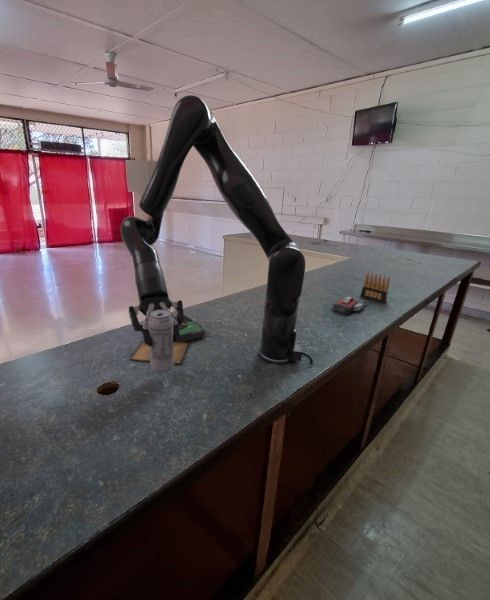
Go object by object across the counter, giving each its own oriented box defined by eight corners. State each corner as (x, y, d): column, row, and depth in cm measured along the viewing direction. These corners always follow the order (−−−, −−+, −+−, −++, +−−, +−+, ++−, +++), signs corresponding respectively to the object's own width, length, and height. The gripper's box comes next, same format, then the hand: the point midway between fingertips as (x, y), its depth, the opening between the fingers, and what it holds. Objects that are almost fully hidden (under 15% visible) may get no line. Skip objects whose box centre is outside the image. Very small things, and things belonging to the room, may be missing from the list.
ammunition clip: (386, 302, 140) (392, 276, 136) (384, 303, 139) (390, 277, 135) (361, 295, 147) (366, 271, 143) (360, 296, 146) (365, 271, 142)
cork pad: (188, 344, 99) (188, 343, 99) (179, 364, 88) (179, 363, 88) (145, 340, 101) (145, 339, 101) (131, 359, 90) (131, 358, 90)
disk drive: (158, 327, 110) (177, 343, 99) (157, 319, 109) (177, 335, 98) (184, 321, 116) (205, 336, 104) (184, 314, 115) (205, 328, 103)
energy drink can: (176, 361, 84) (175, 309, 78) (171, 374, 78) (170, 319, 73) (154, 360, 84) (151, 308, 79) (147, 372, 78) (144, 317, 73)
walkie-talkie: (352, 317, 123) (368, 304, 137) (354, 306, 122) (370, 294, 136) (330, 310, 129) (348, 299, 143) (332, 300, 127) (350, 290, 141)
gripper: (123, 278, 77) (134, 343, 71) (179, 273, 82) (194, 333, 76) (122, 292, 84) (132, 352, 77) (174, 286, 89) (188, 343, 83)
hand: (163, 343), depth 77 cm, fingers closed on energy drink can, 6 cm apart
